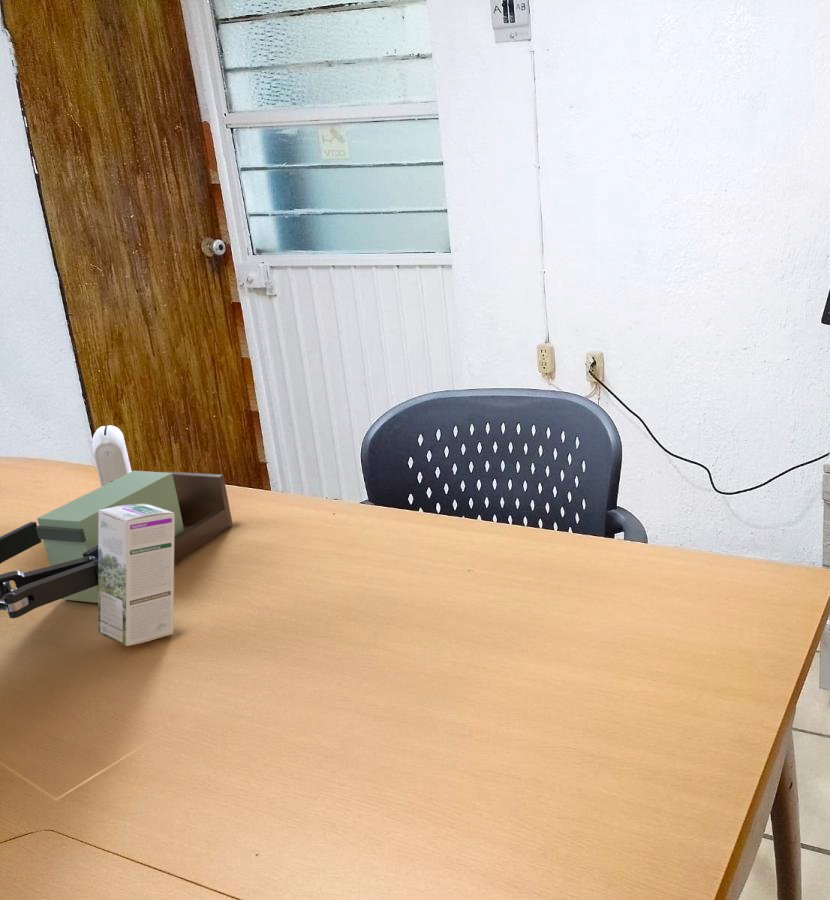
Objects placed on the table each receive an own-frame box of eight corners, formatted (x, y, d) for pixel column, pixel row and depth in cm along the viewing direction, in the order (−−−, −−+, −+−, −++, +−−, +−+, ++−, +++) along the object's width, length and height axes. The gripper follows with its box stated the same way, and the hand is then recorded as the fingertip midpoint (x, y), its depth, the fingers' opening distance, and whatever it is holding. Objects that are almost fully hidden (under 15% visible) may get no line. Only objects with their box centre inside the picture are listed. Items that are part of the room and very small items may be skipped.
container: (55, 600, 102) (33, 519, 98) (150, 542, 117) (133, 470, 114) (98, 605, 101) (77, 522, 97) (188, 545, 116) (172, 472, 112)
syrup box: (175, 634, 95) (178, 510, 93) (123, 648, 90) (126, 518, 88) (146, 621, 98) (148, 501, 96) (94, 634, 93) (96, 508, 90)
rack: (93, 573, 109) (78, 518, 107) (180, 520, 125) (169, 471, 122) (152, 579, 107) (139, 523, 105) (232, 524, 123) (223, 474, 120)
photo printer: (137, 510, 129) (120, 435, 125) (105, 516, 127) (87, 439, 123) (137, 488, 138) (121, 417, 134) (108, 493, 136) (90, 422, 132)
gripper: (-171, 647, 86) (6, 555, 106) (28, 672, 81) (176, 571, 100) (-196, 583, 84) (-10, 501, 103) (8, 605, 78) (164, 514, 98)
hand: (82, 535), depth 102 cm, fingers open, 13 cm apart
